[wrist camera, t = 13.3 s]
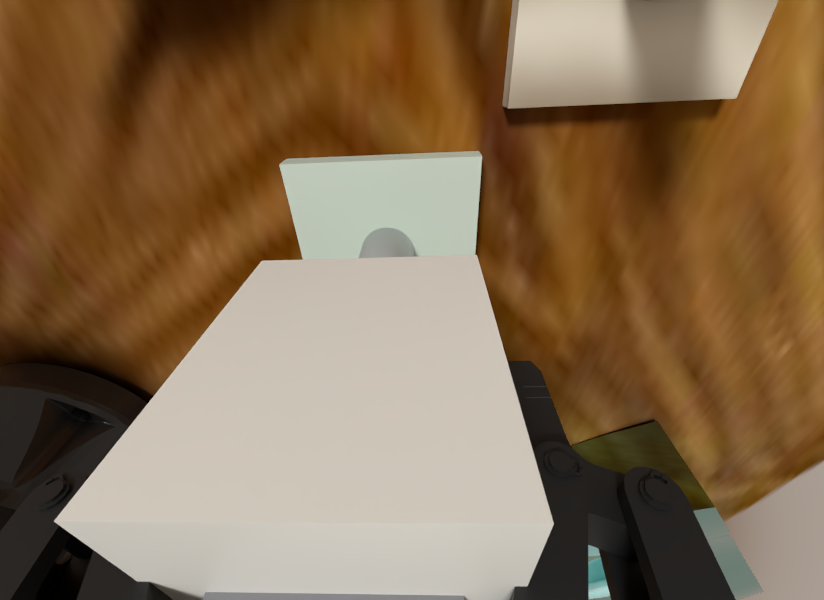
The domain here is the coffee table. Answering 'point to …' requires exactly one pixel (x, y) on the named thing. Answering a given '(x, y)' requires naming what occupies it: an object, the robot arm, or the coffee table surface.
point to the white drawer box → (330, 446)
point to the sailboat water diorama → (660, 454)
